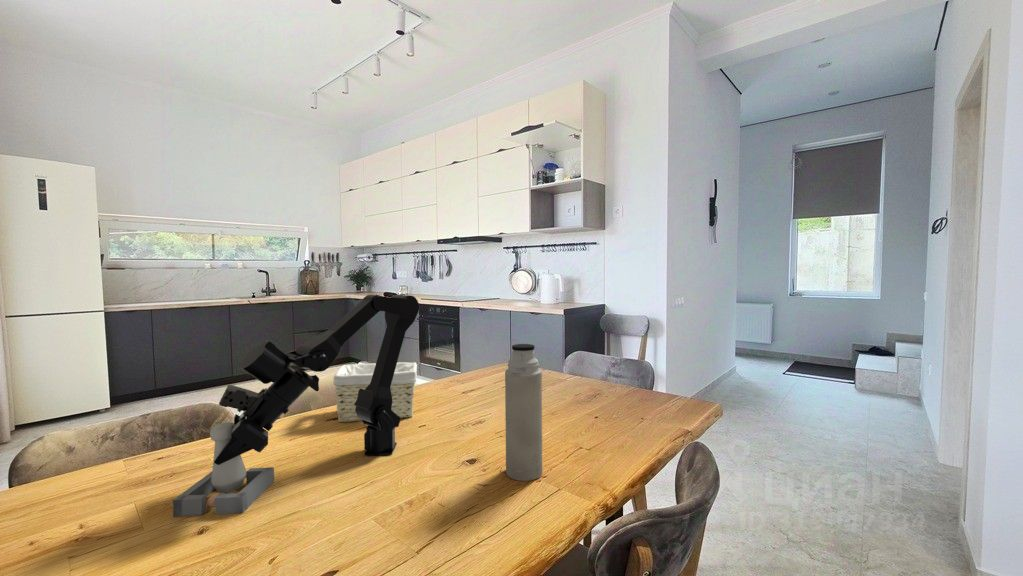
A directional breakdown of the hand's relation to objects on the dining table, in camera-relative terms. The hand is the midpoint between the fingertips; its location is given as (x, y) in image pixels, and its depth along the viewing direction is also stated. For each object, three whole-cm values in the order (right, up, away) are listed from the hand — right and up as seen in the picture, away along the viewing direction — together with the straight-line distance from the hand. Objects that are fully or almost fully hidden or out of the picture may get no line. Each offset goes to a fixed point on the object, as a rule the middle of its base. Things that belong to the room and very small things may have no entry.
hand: (217, 459), depth 82 cm
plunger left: (+2, -7, -3) cm, 8 cm away
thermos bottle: (+60, -7, +11) cm, 61 cm away
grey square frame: (+1, -8, +1) cm, 8 cm away
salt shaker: (+1, -6, +2) cm, 7 cm away
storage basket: (+15, -7, +51) cm, 54 cm away
